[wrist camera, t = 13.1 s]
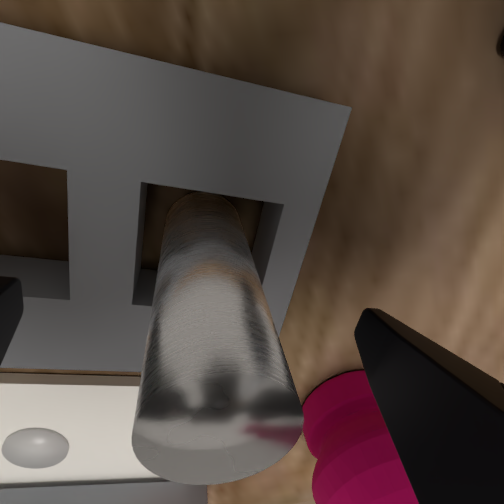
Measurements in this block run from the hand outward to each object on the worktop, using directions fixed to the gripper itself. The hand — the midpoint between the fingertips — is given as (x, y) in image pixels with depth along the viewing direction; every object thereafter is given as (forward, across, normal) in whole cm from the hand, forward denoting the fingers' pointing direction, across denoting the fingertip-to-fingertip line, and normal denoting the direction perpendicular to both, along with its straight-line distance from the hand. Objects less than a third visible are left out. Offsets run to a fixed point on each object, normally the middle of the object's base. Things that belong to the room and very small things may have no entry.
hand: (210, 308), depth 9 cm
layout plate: (+5, +6, +13) cm, 16 cm away
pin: (+5, 0, 0) cm, 5 cm away
